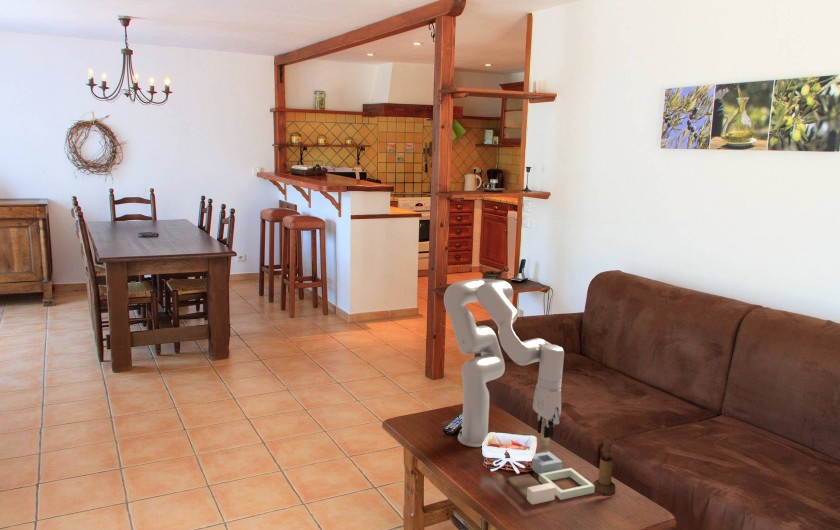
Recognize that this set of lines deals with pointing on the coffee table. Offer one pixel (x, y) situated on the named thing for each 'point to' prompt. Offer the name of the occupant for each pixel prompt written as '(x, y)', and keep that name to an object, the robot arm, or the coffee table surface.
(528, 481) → the board
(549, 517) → the coffee table surface
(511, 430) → the coffee table surface
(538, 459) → the socket
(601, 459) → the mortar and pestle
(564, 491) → the cream square frame
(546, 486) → the block
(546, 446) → the dowel
